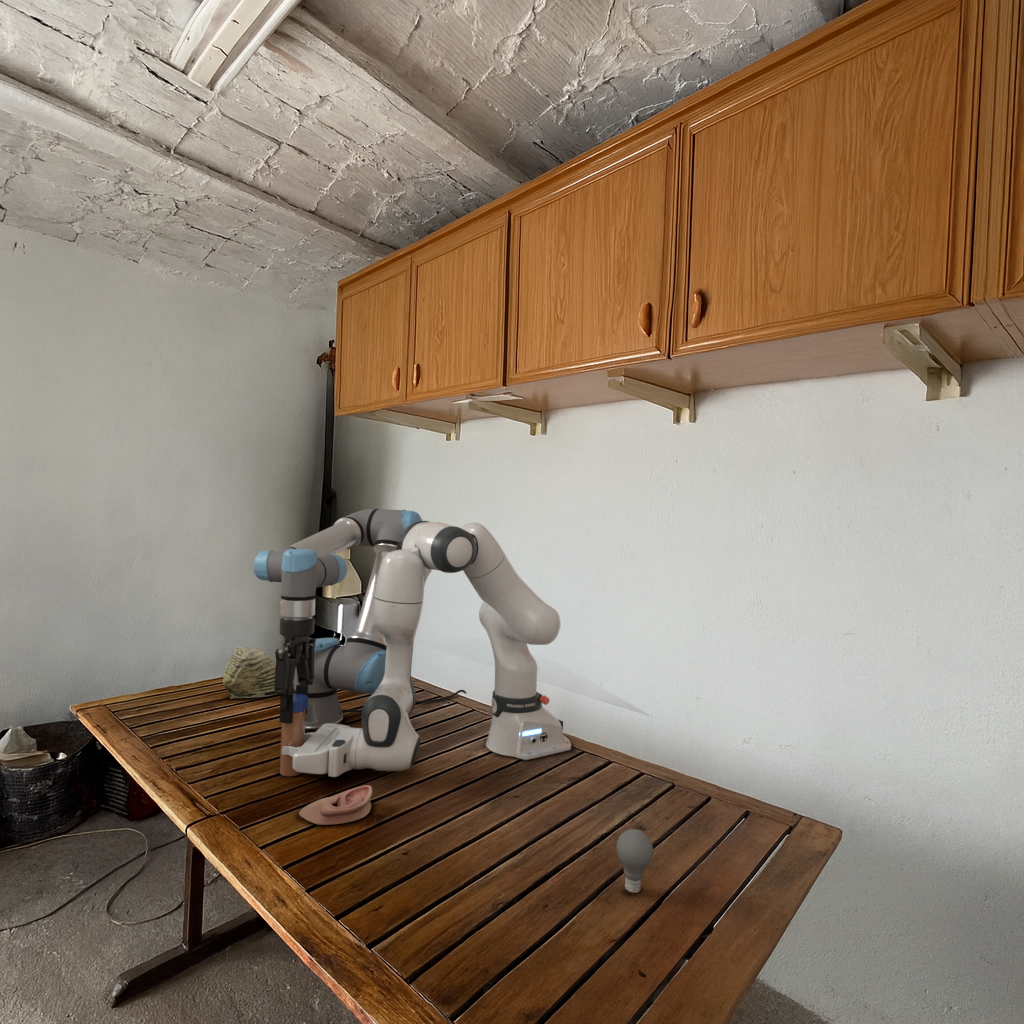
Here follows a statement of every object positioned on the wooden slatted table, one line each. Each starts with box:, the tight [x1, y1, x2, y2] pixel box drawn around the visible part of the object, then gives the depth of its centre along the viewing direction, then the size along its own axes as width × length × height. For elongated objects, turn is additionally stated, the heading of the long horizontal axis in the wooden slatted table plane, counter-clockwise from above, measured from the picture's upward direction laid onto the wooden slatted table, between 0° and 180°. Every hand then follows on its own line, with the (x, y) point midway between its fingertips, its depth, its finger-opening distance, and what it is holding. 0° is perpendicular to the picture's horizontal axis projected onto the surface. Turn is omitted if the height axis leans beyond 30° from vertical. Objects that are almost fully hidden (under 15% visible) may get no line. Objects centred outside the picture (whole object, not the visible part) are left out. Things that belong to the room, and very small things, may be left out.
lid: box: [292, 693, 308, 713], centre depth 145 cm, size 6×6×2 cm
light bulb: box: [615, 828, 654, 894], centre depth 106 cm, size 6×6×10 cm
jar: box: [279, 710, 306, 777], centre depth 145 cm, size 5×5×17 cm
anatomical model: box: [298, 784, 373, 826], centre depth 127 cm, size 13×4×12 cm
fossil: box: [222, 646, 277, 699], centre depth 198 cm, size 9×18×15 cm, turn 132°
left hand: (293, 717), depth 145 cm, fingers closed on lid, 6 cm apart
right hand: (288, 743), depth 145 cm, fingers closed on jar, 5 cm apart
